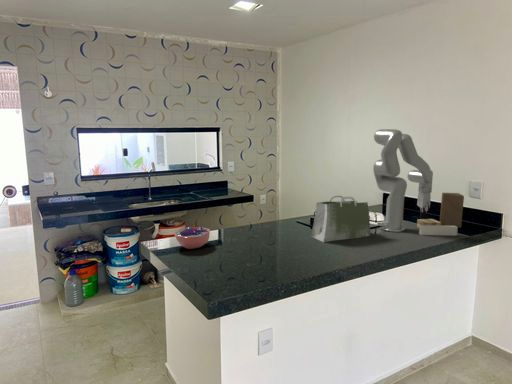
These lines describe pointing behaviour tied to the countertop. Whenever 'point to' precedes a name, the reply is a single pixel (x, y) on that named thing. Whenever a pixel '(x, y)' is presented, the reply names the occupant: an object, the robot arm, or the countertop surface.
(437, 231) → the cream board
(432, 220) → the oak block
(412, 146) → the robot arm
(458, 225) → the wooden block
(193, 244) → the cell model
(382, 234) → the countertop surface
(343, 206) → the grocery bag
